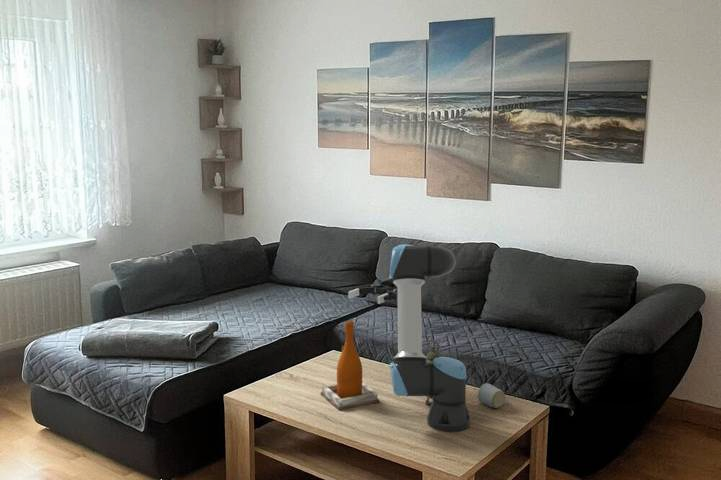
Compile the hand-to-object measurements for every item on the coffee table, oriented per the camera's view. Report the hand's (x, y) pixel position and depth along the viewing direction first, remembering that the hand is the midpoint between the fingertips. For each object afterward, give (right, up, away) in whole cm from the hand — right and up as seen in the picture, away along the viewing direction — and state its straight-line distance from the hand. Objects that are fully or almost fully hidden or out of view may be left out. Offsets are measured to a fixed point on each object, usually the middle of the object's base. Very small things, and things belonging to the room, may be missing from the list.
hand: (363, 297), depth 295 cm
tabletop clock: (+26, -40, -5) cm, 48 cm away
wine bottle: (-5, -38, -1) cm, 38 cm away
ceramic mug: (+49, -40, -6) cm, 64 cm away
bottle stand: (-5, -39, -1) cm, 39 cm away
